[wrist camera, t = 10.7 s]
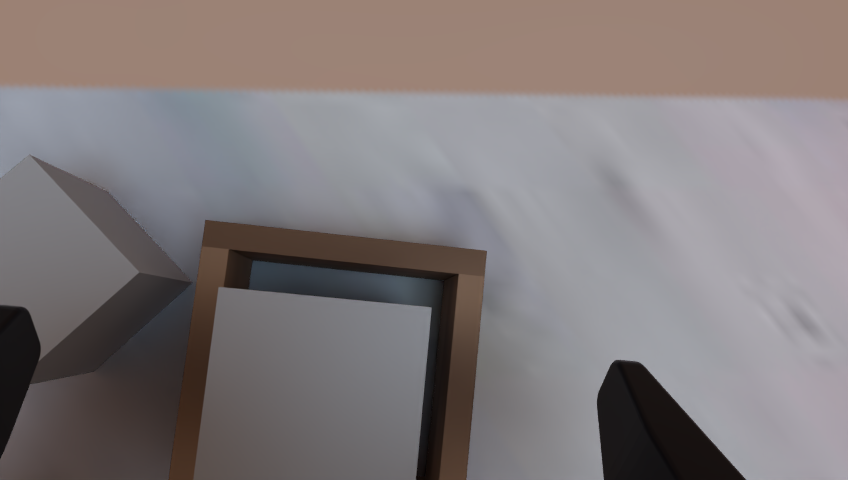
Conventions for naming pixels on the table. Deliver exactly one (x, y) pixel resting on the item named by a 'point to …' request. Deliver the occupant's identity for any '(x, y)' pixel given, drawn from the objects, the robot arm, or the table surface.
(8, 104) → the table surface
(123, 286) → the grey block
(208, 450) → the light grey rectangular block
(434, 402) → the walnut collar
